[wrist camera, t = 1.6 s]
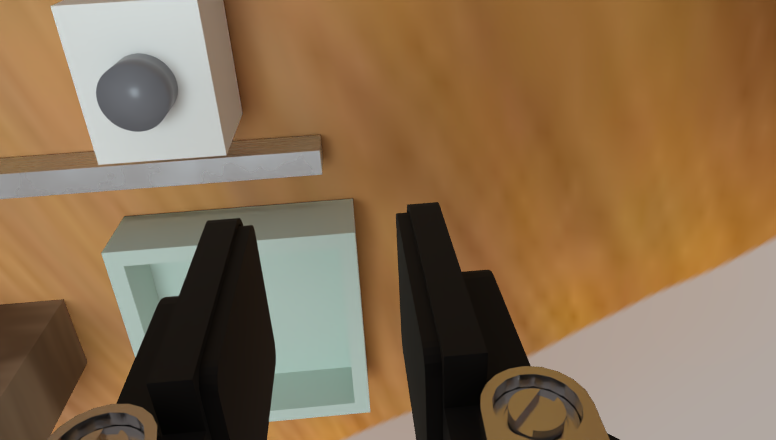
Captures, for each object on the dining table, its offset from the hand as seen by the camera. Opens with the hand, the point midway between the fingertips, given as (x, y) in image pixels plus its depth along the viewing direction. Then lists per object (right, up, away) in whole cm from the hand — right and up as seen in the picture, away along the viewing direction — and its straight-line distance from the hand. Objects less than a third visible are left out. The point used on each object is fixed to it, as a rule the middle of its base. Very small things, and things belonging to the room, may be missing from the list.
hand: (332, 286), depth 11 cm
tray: (-6, -3, +23) cm, 24 cm away
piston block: (-8, +9, +16) cm, 20 cm away
